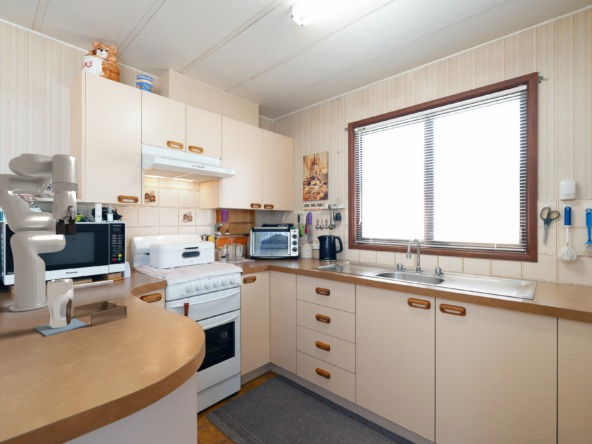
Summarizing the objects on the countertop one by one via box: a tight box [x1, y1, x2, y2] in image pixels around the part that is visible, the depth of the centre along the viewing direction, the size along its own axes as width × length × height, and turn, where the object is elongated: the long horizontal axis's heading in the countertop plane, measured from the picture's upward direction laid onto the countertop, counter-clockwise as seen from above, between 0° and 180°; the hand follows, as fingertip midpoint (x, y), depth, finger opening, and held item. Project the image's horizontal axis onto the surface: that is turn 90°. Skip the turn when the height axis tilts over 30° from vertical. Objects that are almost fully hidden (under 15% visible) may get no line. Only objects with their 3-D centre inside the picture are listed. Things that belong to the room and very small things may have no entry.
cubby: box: [73, 299, 128, 327], centre depth 106 cm, size 16×11×4 cm
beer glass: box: [46, 278, 75, 329], centre depth 96 cm, size 7×7×15 cm
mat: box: [33, 317, 89, 337], centre depth 96 cm, size 12×11×1 cm
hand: (65, 234), depth 107 cm, fingers open, 9 cm apart
